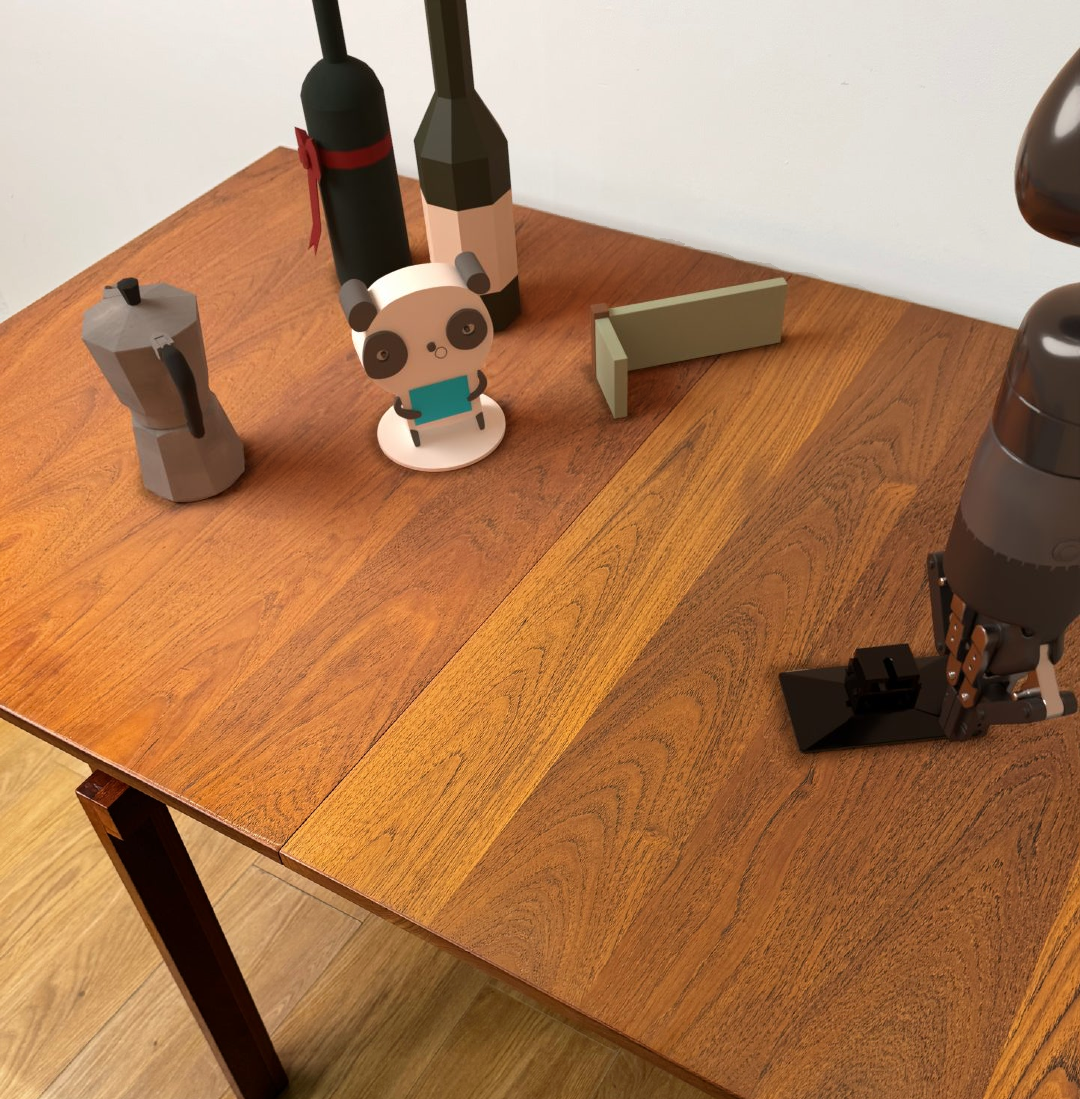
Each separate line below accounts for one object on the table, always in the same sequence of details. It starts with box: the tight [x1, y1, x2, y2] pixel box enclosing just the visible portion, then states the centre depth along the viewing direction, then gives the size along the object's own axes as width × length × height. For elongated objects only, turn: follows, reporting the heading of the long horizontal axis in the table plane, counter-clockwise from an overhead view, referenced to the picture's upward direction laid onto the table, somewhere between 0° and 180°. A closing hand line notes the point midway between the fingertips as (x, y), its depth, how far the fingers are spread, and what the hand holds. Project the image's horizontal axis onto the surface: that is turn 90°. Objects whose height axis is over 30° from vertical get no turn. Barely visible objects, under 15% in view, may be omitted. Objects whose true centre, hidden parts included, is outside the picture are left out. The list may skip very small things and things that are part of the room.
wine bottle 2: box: [413, 0, 522, 334], centre depth 102 cm, size 8×8×30 cm
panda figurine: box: [338, 251, 507, 473], centre depth 97 cm, size 12×11×15 cm
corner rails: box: [589, 276, 788, 419], centre depth 103 cm, size 18×8×7 cm, turn 103°
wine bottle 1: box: [294, 0, 414, 290], centre depth 107 cm, size 8×10×30 cm
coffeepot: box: [80, 276, 246, 503], centre depth 93 cm, size 15×9×18 cm, turn 33°
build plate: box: [777, 642, 949, 754], centre depth 79 cm, size 12×7×5 cm, turn 95°
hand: (959, 729), depth 69 cm, fingers closed
